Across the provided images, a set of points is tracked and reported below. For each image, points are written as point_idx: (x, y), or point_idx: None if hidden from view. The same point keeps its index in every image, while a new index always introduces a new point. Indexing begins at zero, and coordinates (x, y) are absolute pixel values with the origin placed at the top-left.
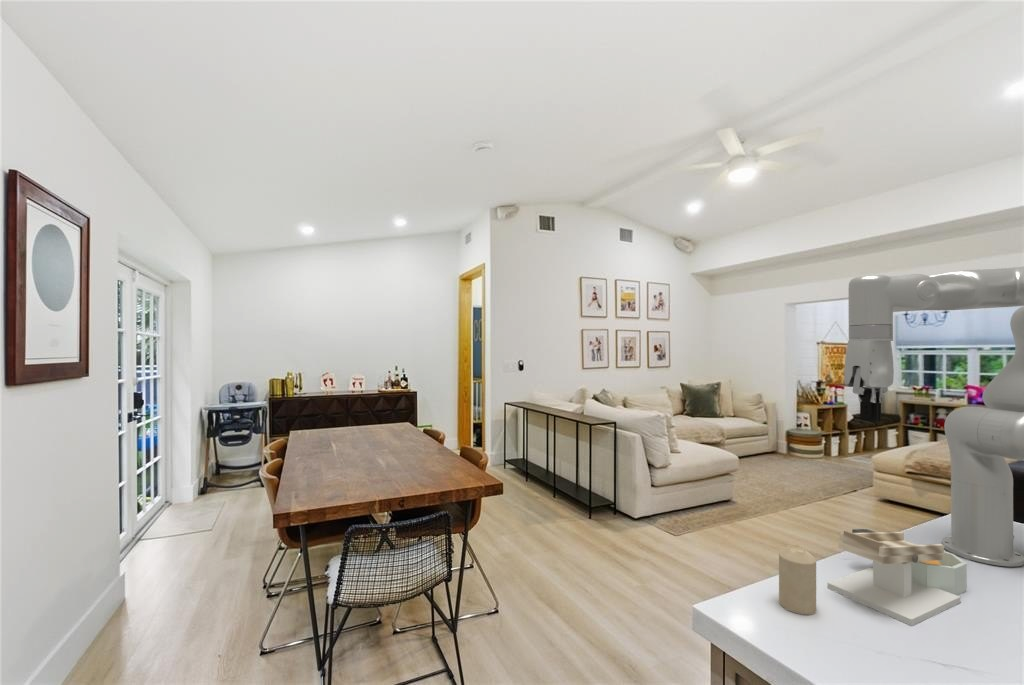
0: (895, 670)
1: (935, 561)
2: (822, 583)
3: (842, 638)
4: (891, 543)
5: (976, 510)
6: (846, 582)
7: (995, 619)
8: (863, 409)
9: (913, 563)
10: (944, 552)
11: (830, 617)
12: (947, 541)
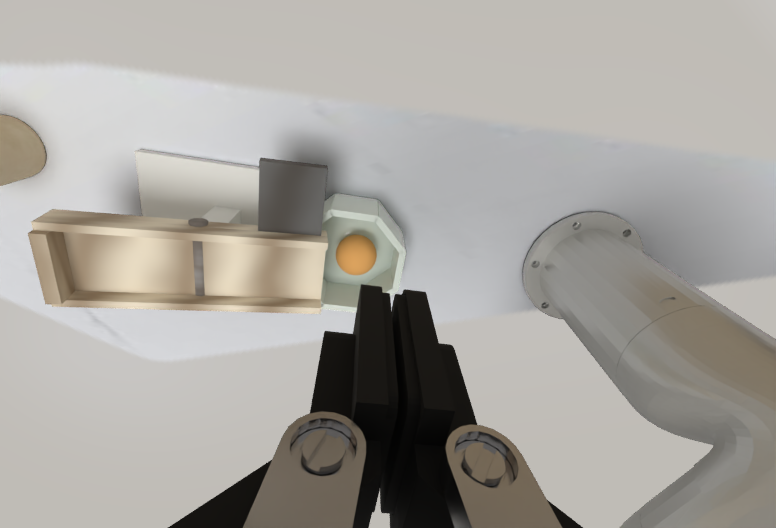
0: (16, 294)
1: (350, 272)
2: (150, 134)
3: (8, 231)
4: (239, 250)
5: (582, 322)
6: (173, 173)
7: (293, 327)
8: (317, 376)
9: None
10: (394, 279)
11: (45, 197)
12: (584, 225)
